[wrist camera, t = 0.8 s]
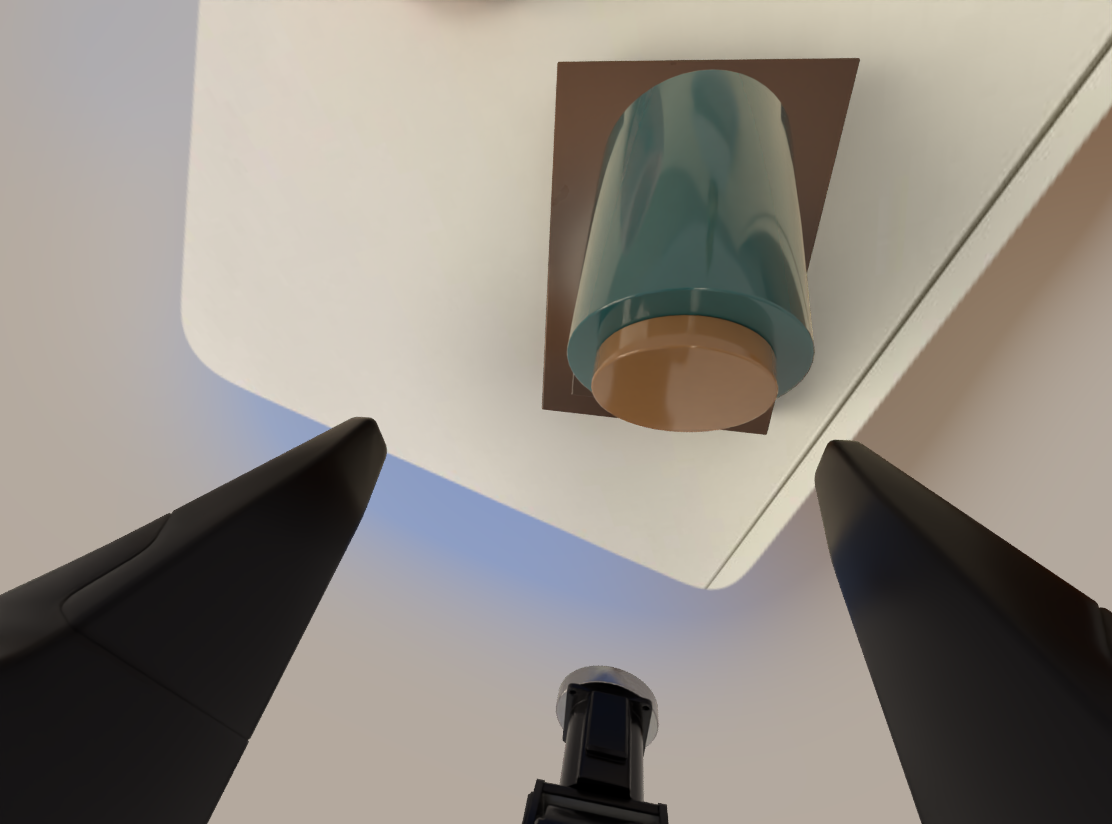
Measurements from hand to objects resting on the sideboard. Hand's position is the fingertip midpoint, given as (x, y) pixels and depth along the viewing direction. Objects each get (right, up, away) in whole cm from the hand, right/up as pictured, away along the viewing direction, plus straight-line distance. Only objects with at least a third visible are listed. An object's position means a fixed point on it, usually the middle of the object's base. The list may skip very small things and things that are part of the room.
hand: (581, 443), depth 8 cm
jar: (+4, +6, +6) cm, 9 cm away
